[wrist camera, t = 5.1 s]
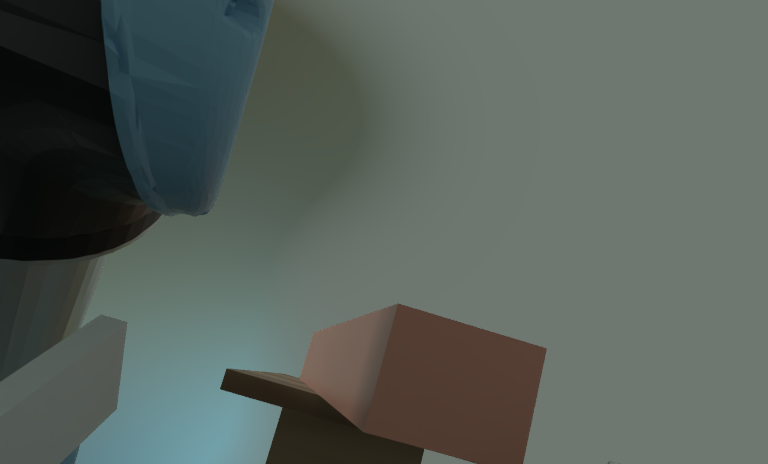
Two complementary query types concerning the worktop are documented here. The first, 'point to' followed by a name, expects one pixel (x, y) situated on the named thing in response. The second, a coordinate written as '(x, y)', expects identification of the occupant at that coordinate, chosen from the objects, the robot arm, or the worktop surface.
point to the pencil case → (429, 382)
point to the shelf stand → (314, 425)
